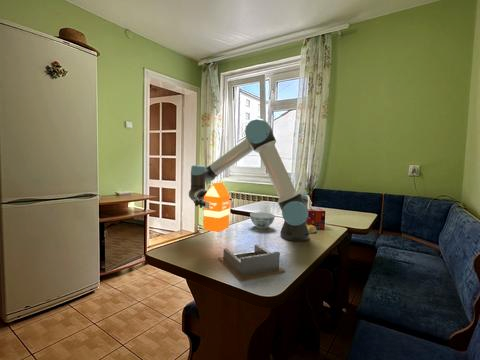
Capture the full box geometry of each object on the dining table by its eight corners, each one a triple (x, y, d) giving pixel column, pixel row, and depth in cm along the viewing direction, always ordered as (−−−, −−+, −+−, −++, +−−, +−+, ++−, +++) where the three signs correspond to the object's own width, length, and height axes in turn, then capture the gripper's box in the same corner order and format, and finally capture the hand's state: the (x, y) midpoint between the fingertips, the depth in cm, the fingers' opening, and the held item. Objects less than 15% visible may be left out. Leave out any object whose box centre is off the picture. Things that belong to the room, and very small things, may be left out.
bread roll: (302, 228, 154) (302, 222, 154) (317, 231, 149) (317, 224, 149) (297, 231, 147) (298, 224, 147) (313, 234, 142) (313, 227, 142)
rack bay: (218, 259, 101) (218, 242, 100) (256, 253, 109) (257, 237, 108) (240, 281, 83) (241, 261, 82) (284, 272, 91) (285, 254, 91)
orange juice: (203, 229, 107) (204, 182, 105) (213, 225, 115) (215, 181, 113) (219, 232, 104) (220, 184, 102) (229, 227, 112) (230, 182, 110)
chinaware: (278, 226, 155) (278, 214, 154) (268, 232, 142) (268, 218, 141) (256, 223, 163) (256, 211, 162) (245, 227, 150) (245, 215, 149)
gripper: (224, 203, 130) (244, 212, 110) (180, 206, 120) (194, 215, 100) (224, 189, 129) (244, 195, 109) (181, 190, 119) (194, 197, 99)
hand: (220, 205), depth 105 cm, fingers closed on orange juice, 10 cm apart
